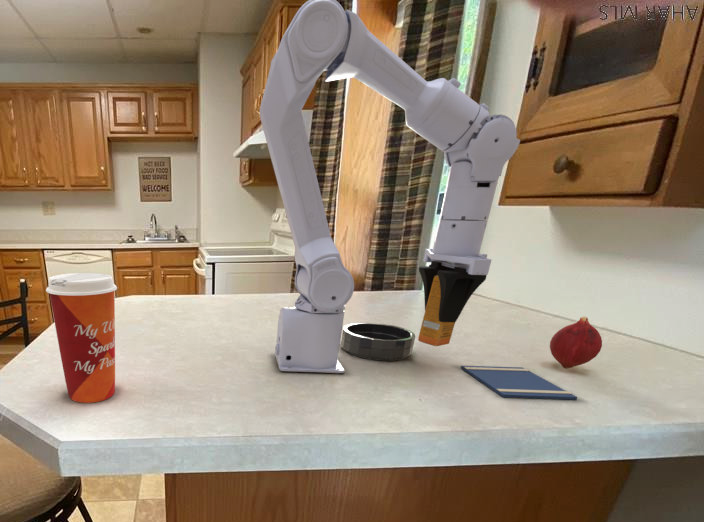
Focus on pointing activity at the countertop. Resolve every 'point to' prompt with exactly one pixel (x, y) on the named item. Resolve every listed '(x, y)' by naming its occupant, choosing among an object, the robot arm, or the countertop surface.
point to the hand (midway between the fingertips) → (439, 317)
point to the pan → (377, 341)
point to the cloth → (517, 383)
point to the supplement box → (435, 320)
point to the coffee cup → (85, 333)
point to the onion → (576, 344)
